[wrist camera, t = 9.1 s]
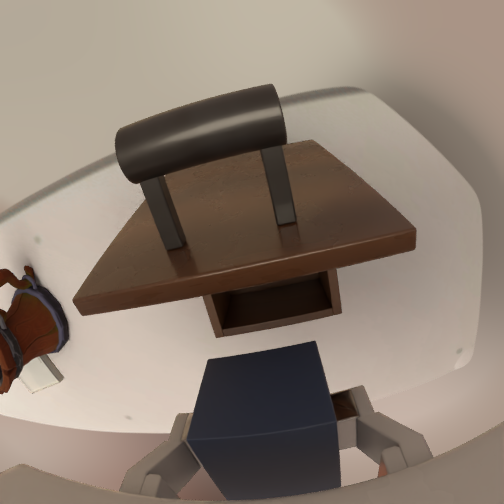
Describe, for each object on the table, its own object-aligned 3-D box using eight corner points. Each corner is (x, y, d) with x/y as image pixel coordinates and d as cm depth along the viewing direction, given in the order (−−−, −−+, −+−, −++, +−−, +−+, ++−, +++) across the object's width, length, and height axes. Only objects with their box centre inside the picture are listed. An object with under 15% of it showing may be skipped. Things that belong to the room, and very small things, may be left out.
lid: (416, 250, 8) (407, 68, 6) (81, 317, 9) (11, 182, 7) (315, 149, 22) (301, 81, 19) (169, 183, 23) (148, 119, 20)
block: (315, 339, 11) (337, 421, 7) (325, 413, 12) (341, 487, 8) (207, 358, 12) (185, 439, 7) (235, 427, 13) (226, 501, 9)
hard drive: (30, 343, 37) (5, 361, 39) (60, 383, 39) (31, 395, 41) (35, 339, 39) (10, 357, 41) (64, 377, 40) (35, 390, 42)
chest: (325, 280, 34) (342, 313, 26) (226, 300, 35) (215, 338, 27) (300, 150, 30) (313, 144, 22) (192, 175, 31) (169, 178, 23)
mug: (5, 239, 34) (-65, 269, 20) (54, 240, 34) (-25, 277, 19) (29, 341, 39) (-22, 389, 24) (78, 354, 38) (27, 415, 24)
